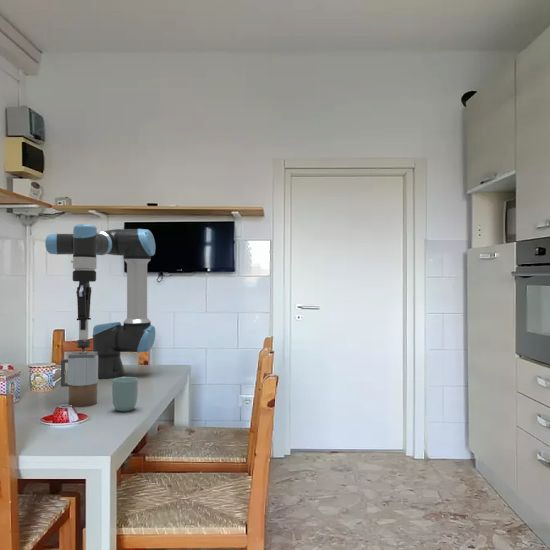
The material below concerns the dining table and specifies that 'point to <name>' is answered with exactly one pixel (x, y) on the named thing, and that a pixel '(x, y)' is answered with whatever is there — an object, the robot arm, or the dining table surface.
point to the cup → (124, 393)
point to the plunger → (83, 344)
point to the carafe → (81, 378)
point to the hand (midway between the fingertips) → (83, 339)
